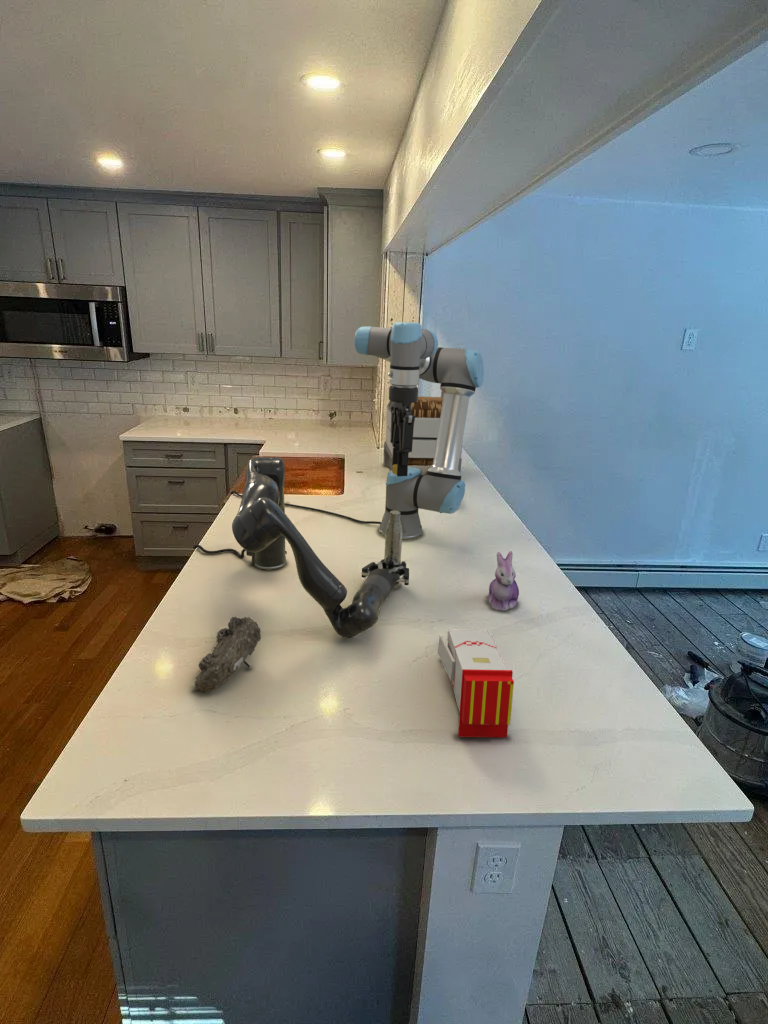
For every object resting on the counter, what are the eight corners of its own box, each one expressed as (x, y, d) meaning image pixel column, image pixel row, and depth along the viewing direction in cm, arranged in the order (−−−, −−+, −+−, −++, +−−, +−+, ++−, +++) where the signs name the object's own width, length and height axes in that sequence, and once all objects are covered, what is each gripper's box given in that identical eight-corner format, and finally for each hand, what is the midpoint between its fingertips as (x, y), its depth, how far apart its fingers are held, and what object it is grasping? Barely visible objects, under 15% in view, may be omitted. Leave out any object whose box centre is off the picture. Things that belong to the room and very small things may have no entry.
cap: (406, 471, 155) (407, 464, 154) (407, 475, 151) (407, 468, 151) (392, 470, 155) (392, 463, 154) (392, 474, 151) (392, 467, 151)
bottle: (399, 589, 160) (403, 515, 153) (382, 588, 160) (386, 514, 153) (399, 582, 165) (403, 509, 157) (383, 581, 165) (386, 508, 157)
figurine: (500, 615, 149) (507, 563, 144) (477, 598, 157) (483, 548, 152) (528, 608, 153) (536, 557, 148) (504, 591, 161) (510, 543, 156)
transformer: (382, 463, 289) (386, 382, 275) (445, 464, 293) (451, 384, 279) (390, 482, 257) (394, 392, 243) (460, 483, 261) (468, 394, 247)
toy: (488, 613, 130) (523, 677, 101) (484, 667, 133) (517, 744, 104) (435, 612, 130) (455, 676, 101) (432, 666, 133) (451, 743, 103)
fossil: (214, 619, 133) (260, 589, 128) (241, 647, 136) (288, 619, 131) (174, 686, 113) (226, 654, 108) (207, 716, 116) (260, 687, 111)
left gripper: (404, 580, 144) (419, 554, 160) (351, 570, 148) (371, 546, 164) (402, 606, 147) (418, 578, 162) (350, 596, 151) (370, 570, 166)
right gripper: (380, 381, 152) (377, 465, 160) (399, 390, 137) (395, 483, 145) (407, 381, 154) (403, 464, 162) (429, 390, 139) (423, 482, 147)
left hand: (394, 562), depth 163 cm, fingers closed on bottle, 4 cm apart
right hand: (399, 473), depth 153 cm, fingers closed on cap, 4 cm apart
